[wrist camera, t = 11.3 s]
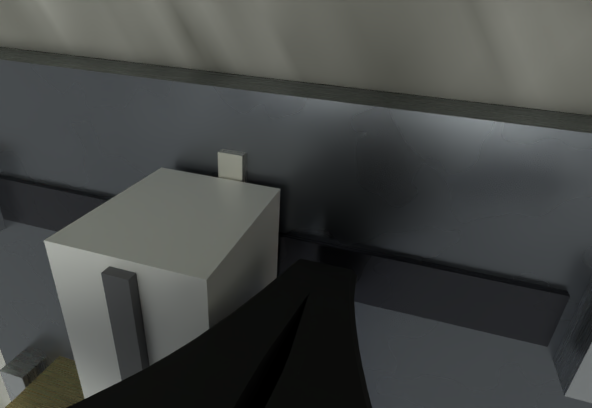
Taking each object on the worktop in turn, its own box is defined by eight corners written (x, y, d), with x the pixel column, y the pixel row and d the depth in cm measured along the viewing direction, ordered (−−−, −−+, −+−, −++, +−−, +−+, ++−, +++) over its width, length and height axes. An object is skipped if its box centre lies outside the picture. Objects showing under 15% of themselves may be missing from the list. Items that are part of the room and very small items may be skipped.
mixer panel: (509, 558, 15) (521, 651, 13) (56, 401, 20) (9, 450, 18) (752, 134, 8) (871, 185, 6) (-54, 40, 13) (-155, 49, 10)
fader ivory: (274, 325, 11) (210, 455, 8) (174, 298, 12) (78, 409, 9) (280, 188, 9) (199, 287, 6) (161, 167, 10) (34, 246, 7)
